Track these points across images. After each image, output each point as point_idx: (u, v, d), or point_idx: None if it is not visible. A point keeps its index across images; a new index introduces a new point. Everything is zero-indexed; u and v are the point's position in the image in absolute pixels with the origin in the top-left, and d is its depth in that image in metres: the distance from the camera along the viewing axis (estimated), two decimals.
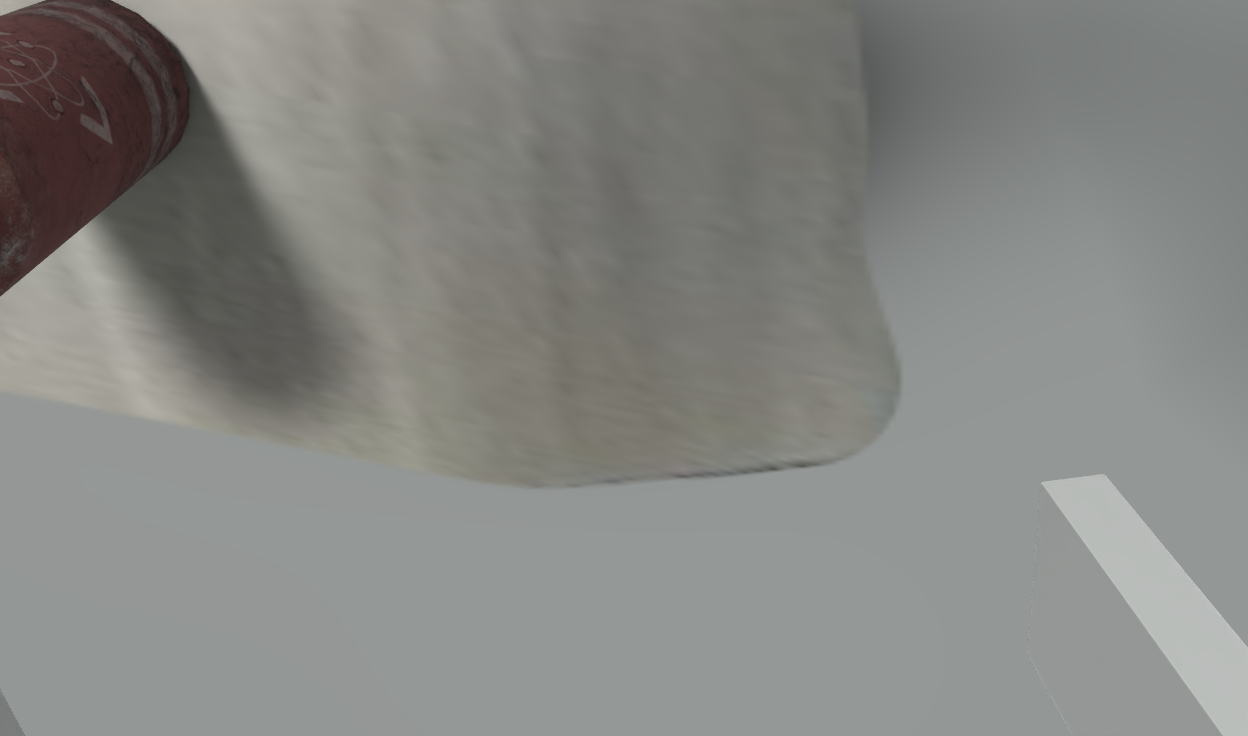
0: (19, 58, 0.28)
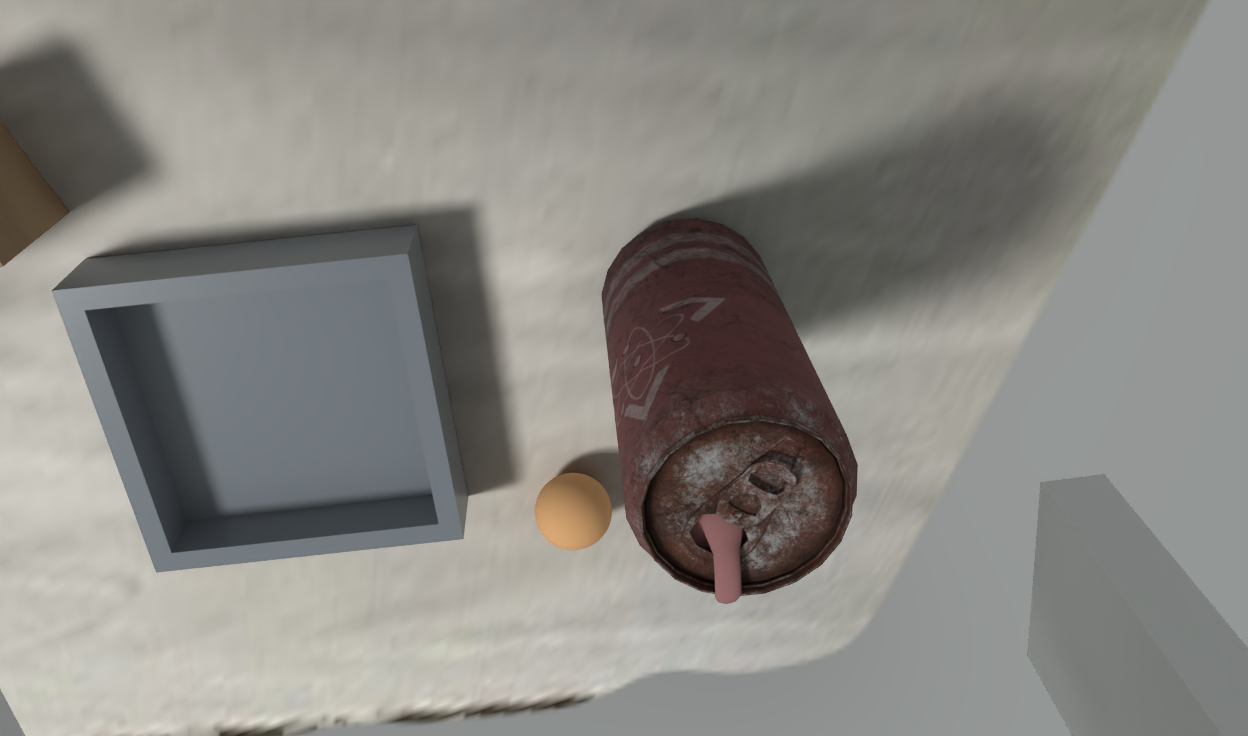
0: (635, 358, 0.30)
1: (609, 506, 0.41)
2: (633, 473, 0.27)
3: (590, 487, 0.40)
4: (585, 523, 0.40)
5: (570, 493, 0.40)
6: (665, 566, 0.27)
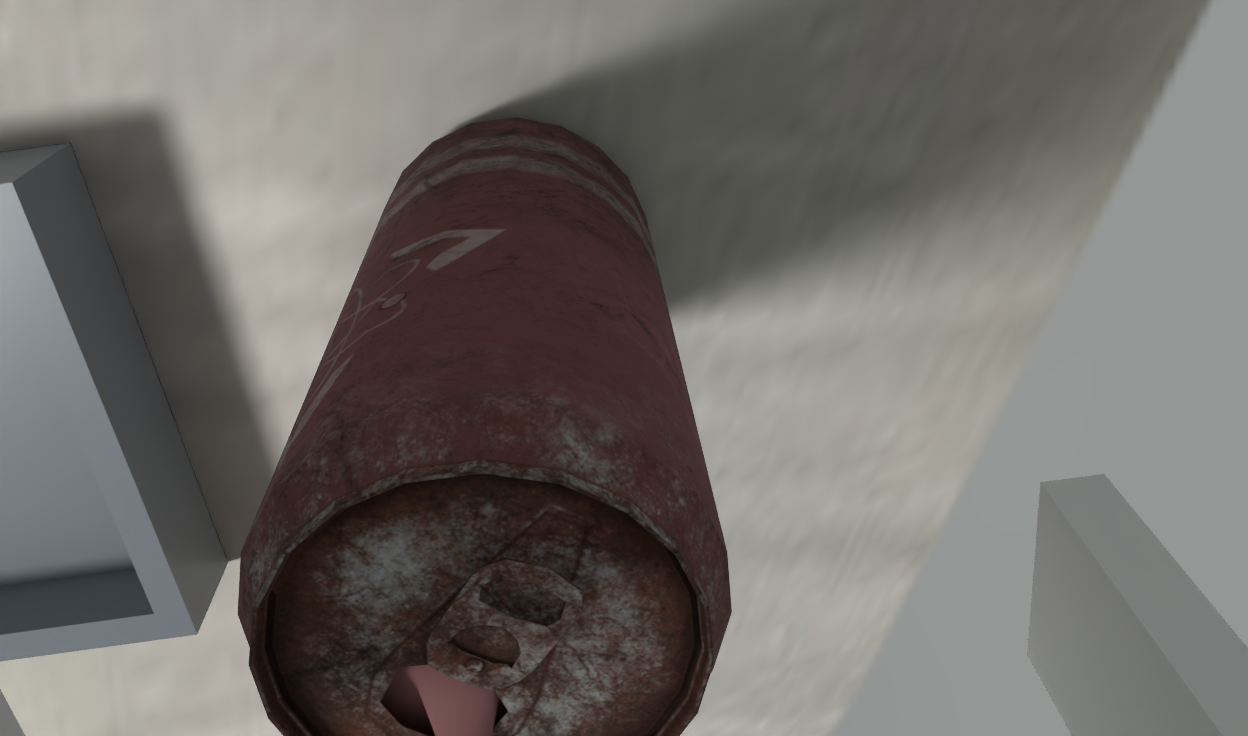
0: (330, 344, 0.16)
1: None
2: (244, 588, 0.12)
3: None
4: None
5: None
6: None
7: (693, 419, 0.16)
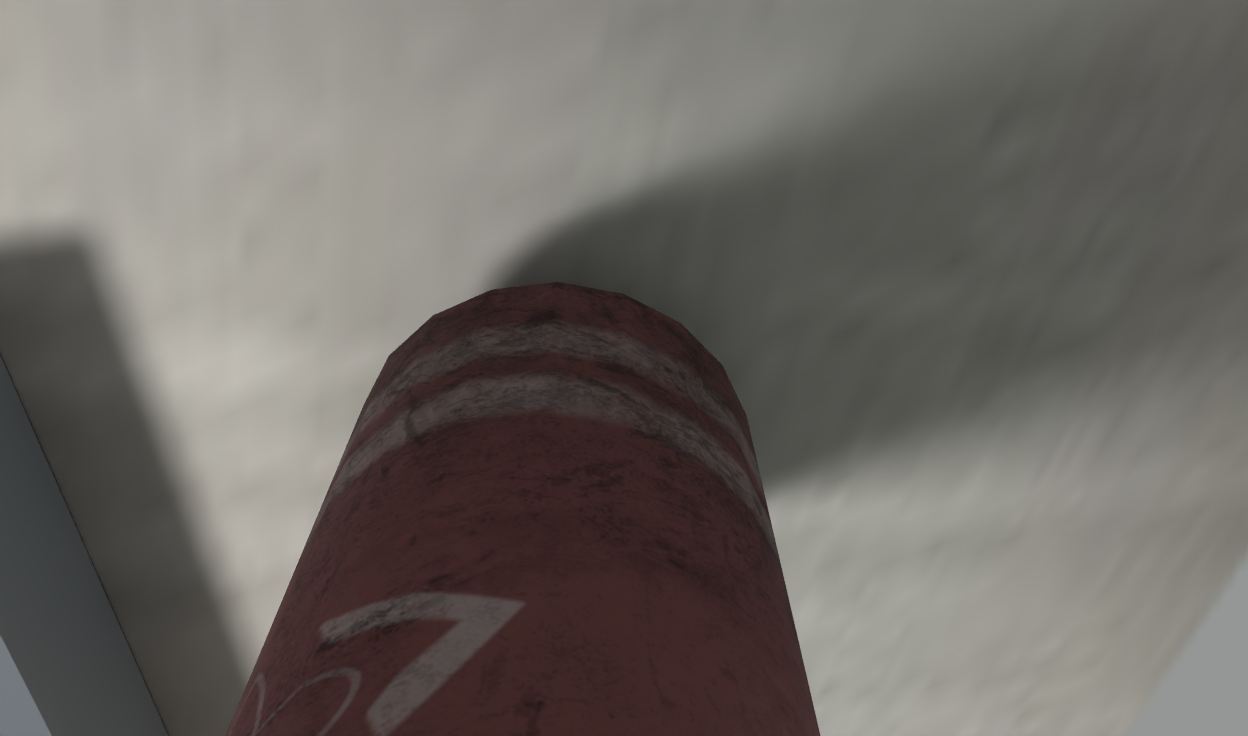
0: None
1: None
2: None
3: None
4: None
5: None
6: None
7: None
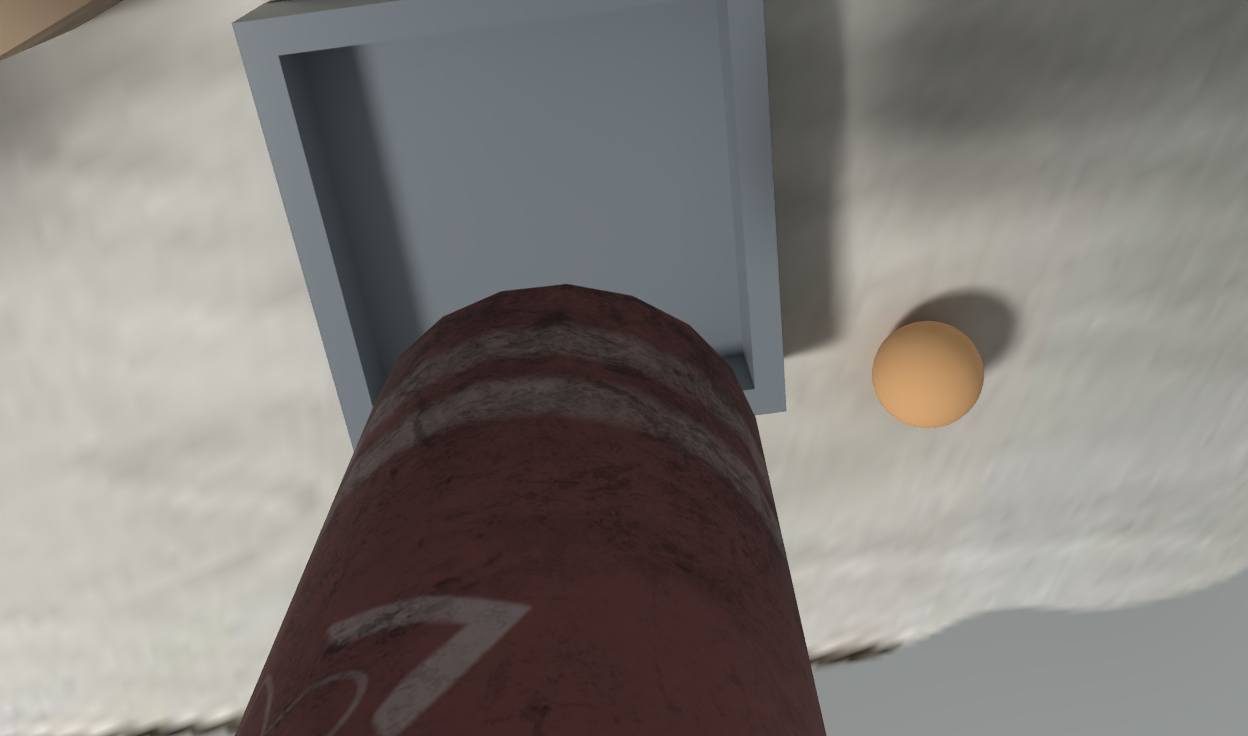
0: None
1: None
2: None
3: (959, 336, 0.29)
4: (960, 384, 0.28)
5: (936, 342, 0.28)
6: None
7: None
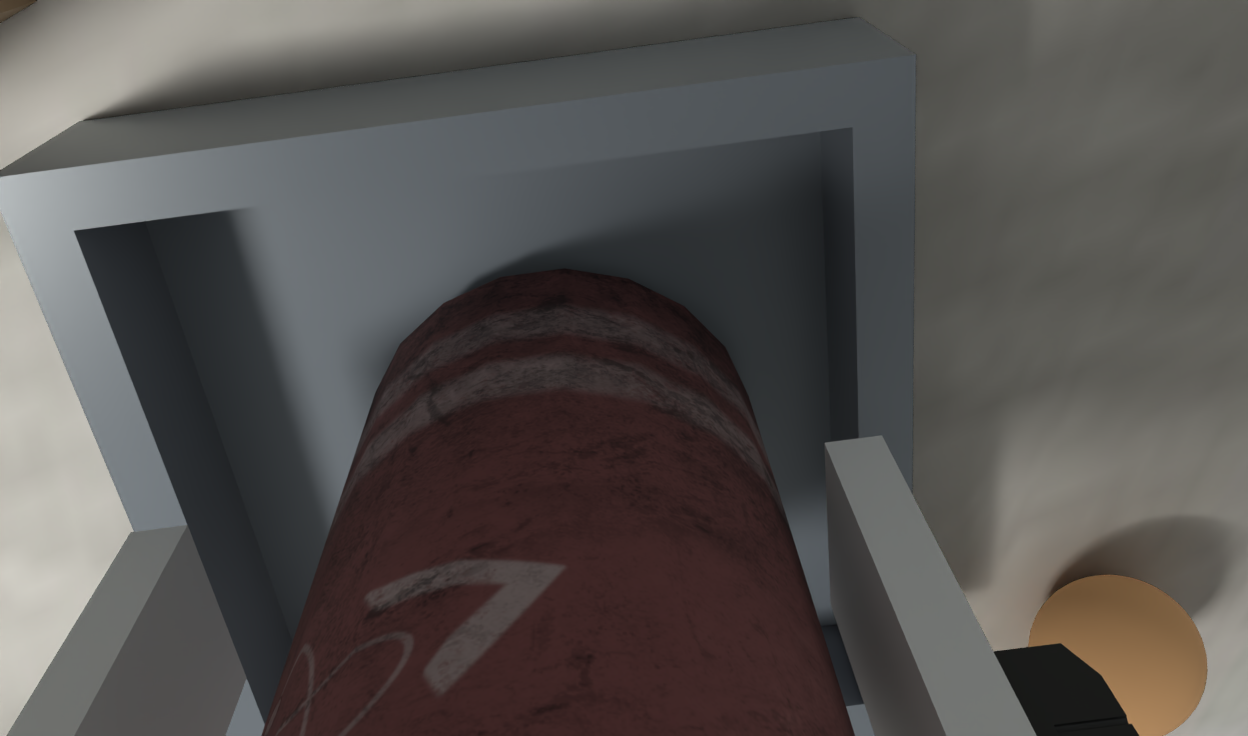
0: None
1: None
2: None
3: (1173, 611, 0.19)
4: (1180, 694, 0.18)
5: (1141, 627, 0.18)
6: None
7: None
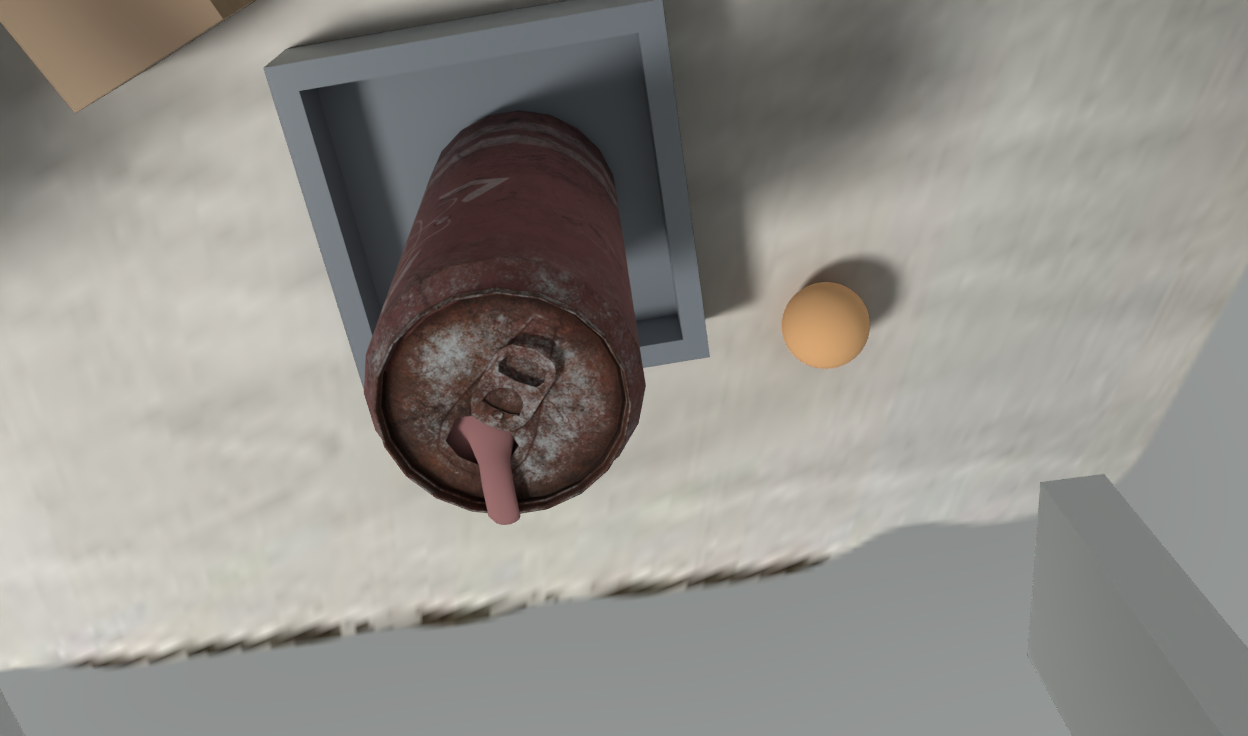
0: (404, 252, 0.26)
1: (868, 315, 0.36)
2: (368, 373, 0.22)
3: (848, 293, 0.36)
4: (847, 331, 0.35)
5: (828, 298, 0.35)
6: (420, 483, 0.23)
7: (628, 287, 0.25)
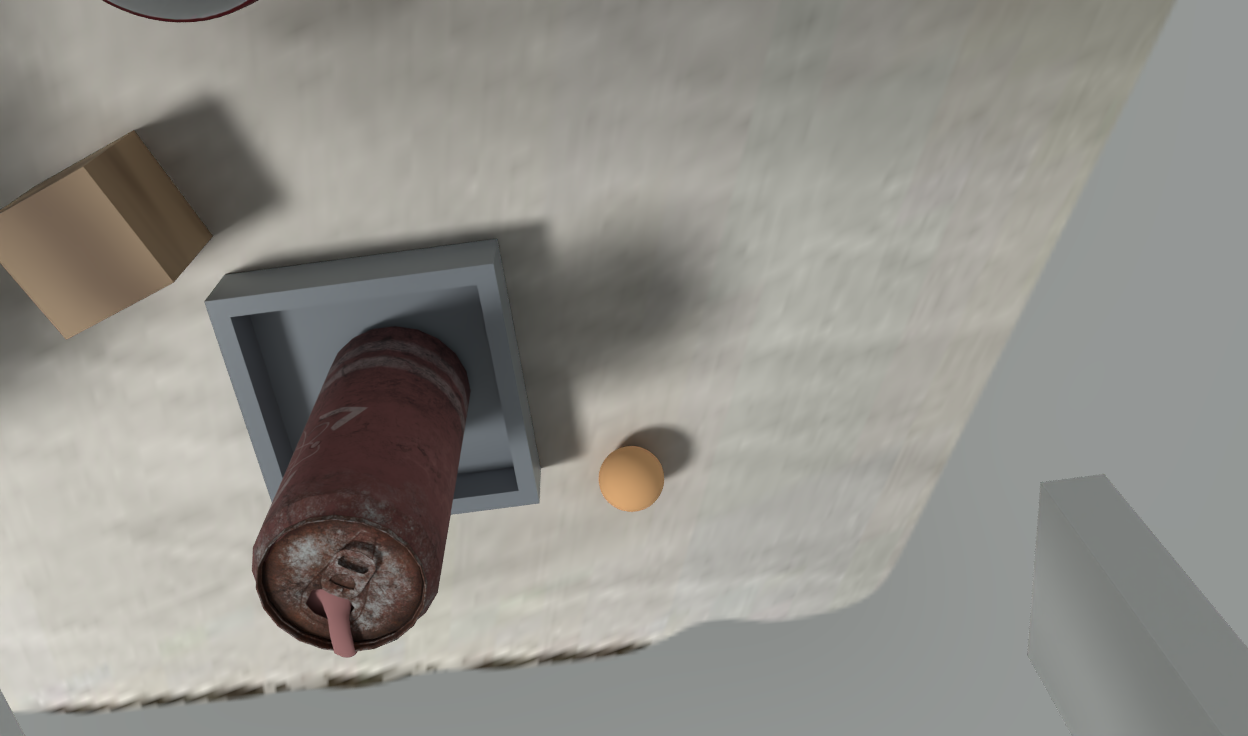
0: (291, 459, 0.38)
1: (662, 473, 0.48)
2: (254, 560, 0.34)
3: (645, 457, 0.47)
4: (642, 487, 0.47)
5: (629, 462, 0.47)
6: (288, 631, 0.35)
7: (442, 491, 0.37)
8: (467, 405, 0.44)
